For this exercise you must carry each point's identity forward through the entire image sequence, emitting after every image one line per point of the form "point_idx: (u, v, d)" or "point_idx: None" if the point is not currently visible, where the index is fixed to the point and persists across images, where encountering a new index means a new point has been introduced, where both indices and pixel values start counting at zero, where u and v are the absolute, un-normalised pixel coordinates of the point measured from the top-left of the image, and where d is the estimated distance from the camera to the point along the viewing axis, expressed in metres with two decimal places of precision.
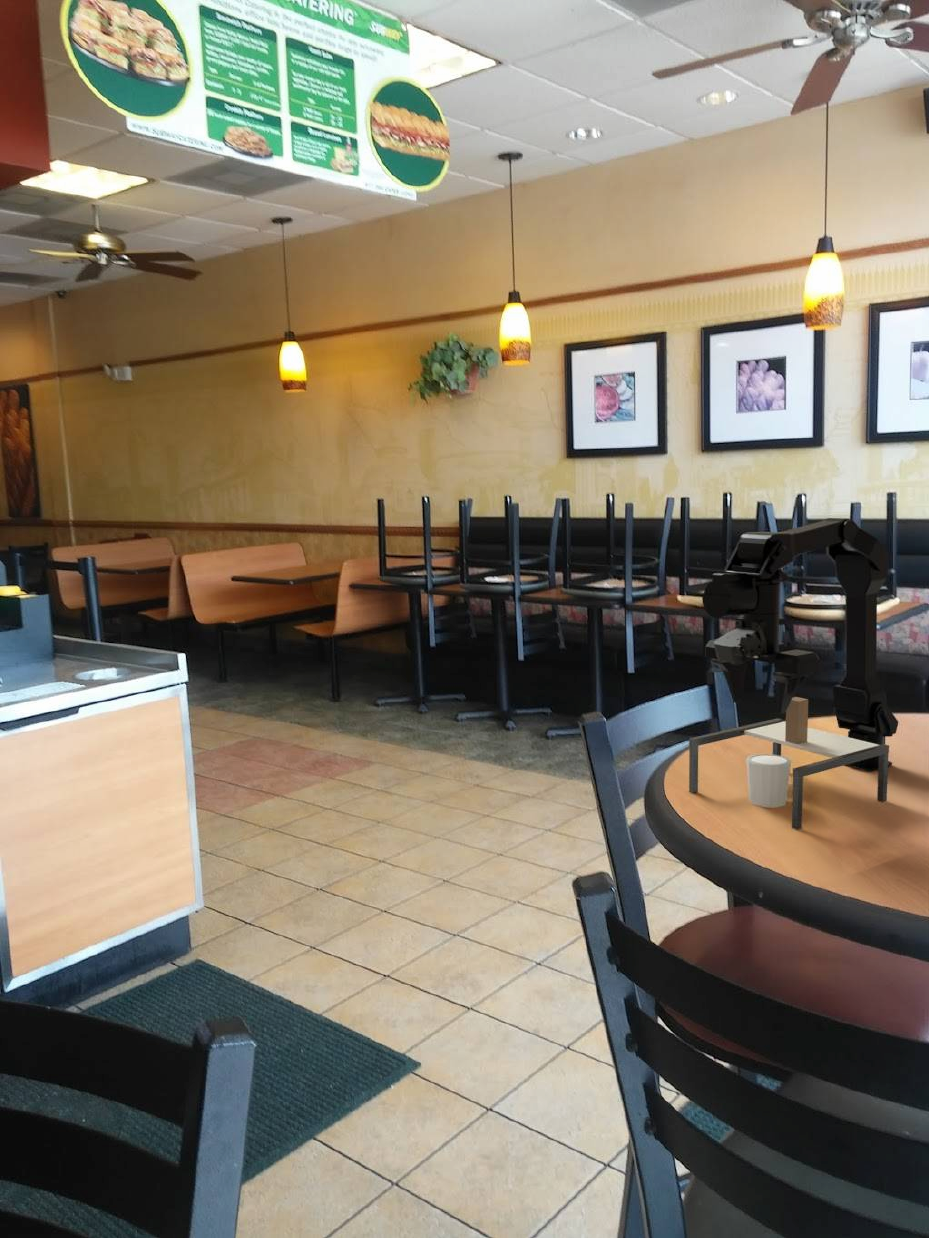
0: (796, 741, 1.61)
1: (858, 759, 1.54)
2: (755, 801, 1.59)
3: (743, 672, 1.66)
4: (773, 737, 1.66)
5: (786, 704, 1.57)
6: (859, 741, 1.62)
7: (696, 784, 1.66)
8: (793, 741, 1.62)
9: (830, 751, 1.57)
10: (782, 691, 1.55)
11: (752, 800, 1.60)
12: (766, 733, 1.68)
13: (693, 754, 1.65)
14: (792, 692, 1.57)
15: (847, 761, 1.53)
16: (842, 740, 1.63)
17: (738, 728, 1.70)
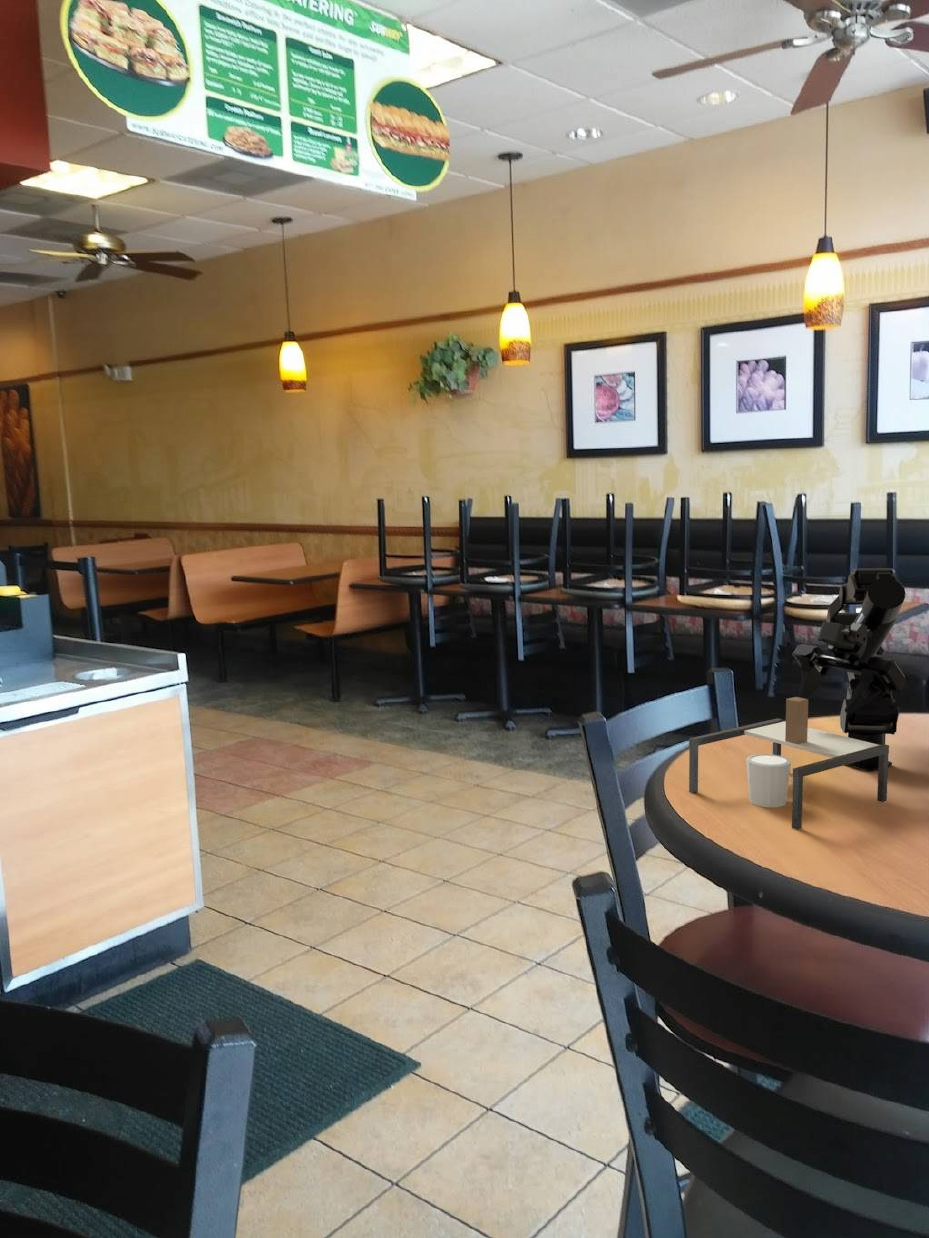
0: (796, 741, 1.61)
1: (858, 759, 1.54)
2: (755, 801, 1.59)
3: (817, 685, 1.72)
4: (773, 737, 1.66)
5: (855, 707, 1.62)
6: (859, 741, 1.62)
7: (696, 784, 1.66)
8: (793, 741, 1.62)
9: (830, 751, 1.57)
10: (860, 690, 1.61)
11: (752, 800, 1.60)
12: (766, 733, 1.68)
13: (693, 754, 1.65)
14: (865, 700, 1.62)
15: (847, 761, 1.53)
16: (842, 740, 1.63)
17: (738, 728, 1.70)
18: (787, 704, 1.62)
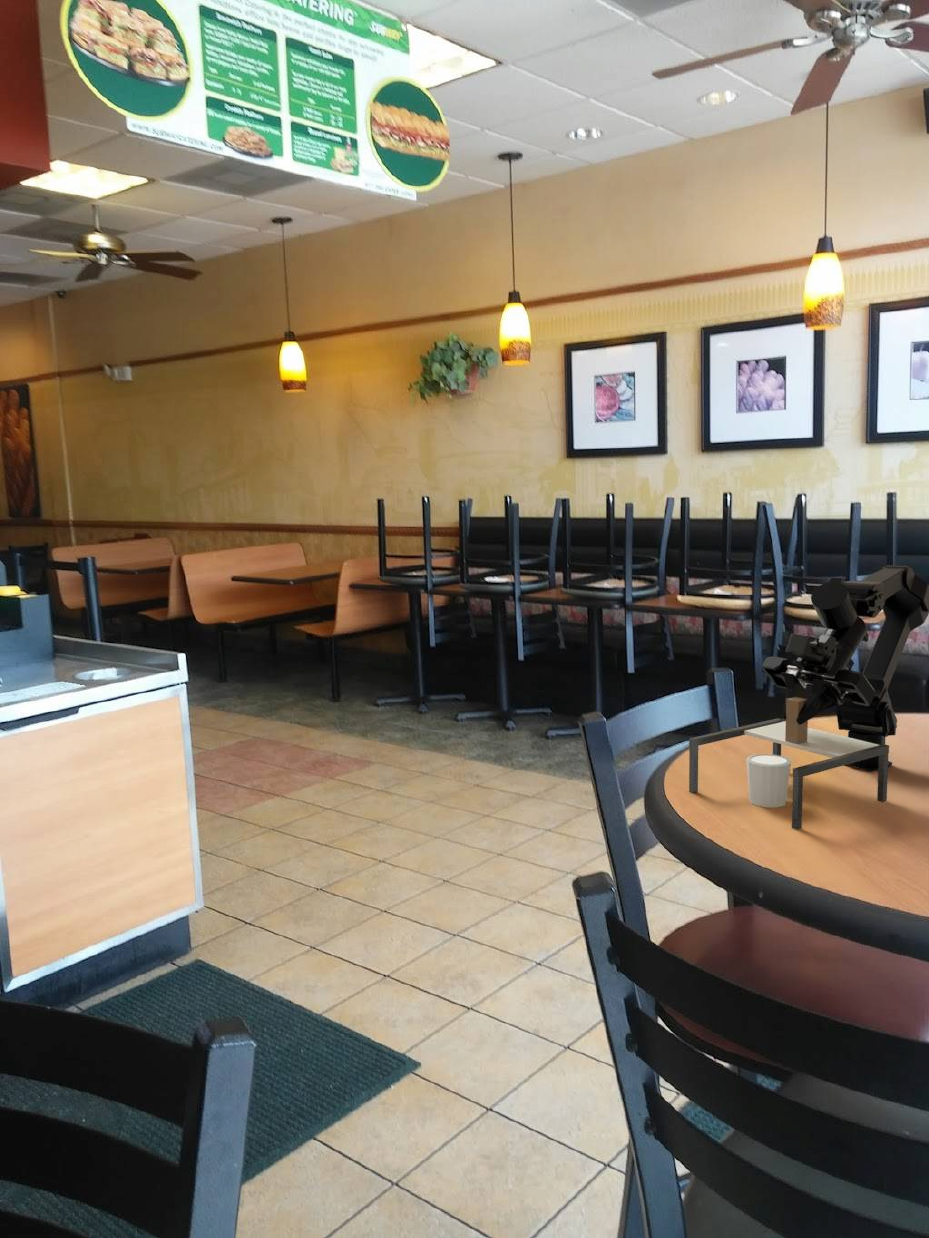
0: (796, 741, 1.61)
1: (858, 759, 1.54)
2: (755, 801, 1.59)
3: None
4: (773, 737, 1.66)
5: (806, 717, 1.61)
6: (859, 741, 1.62)
7: (696, 784, 1.66)
8: (793, 741, 1.62)
9: (830, 751, 1.57)
10: (811, 700, 1.60)
11: (752, 800, 1.60)
12: (766, 733, 1.68)
13: (693, 754, 1.65)
14: (817, 711, 1.61)
15: (847, 761, 1.53)
16: (842, 740, 1.63)
17: (738, 728, 1.70)
18: (787, 704, 1.62)
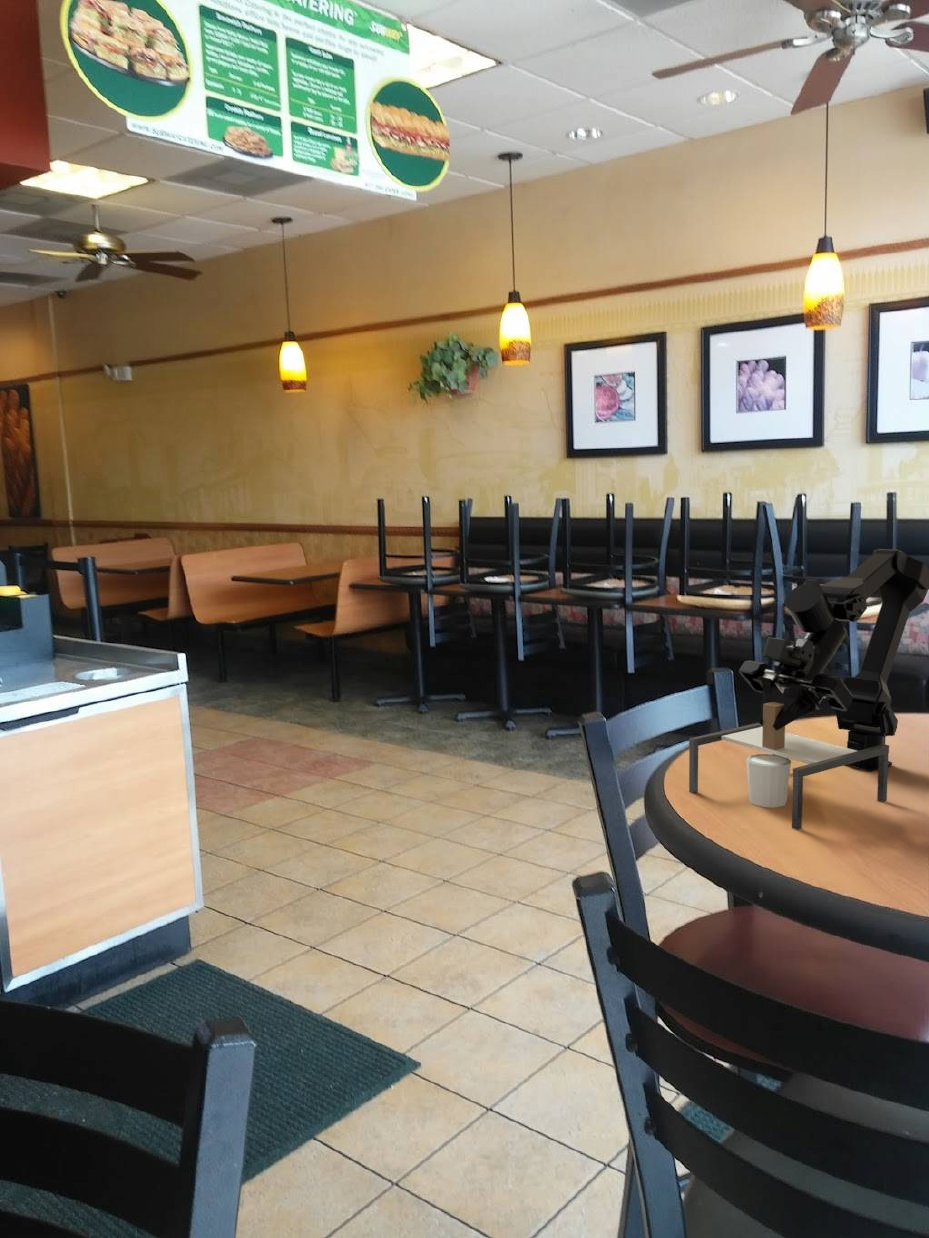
0: (773, 747, 1.59)
1: (858, 759, 1.54)
2: (755, 801, 1.59)
3: None
4: (750, 743, 1.63)
5: (783, 722, 1.58)
6: (837, 747, 1.59)
7: (696, 784, 1.66)
8: (770, 747, 1.59)
9: (807, 757, 1.54)
10: (788, 705, 1.57)
11: (752, 800, 1.60)
12: (743, 738, 1.65)
13: (693, 754, 1.65)
14: (794, 716, 1.58)
15: (847, 761, 1.53)
16: (820, 746, 1.60)
17: (738, 728, 1.70)
18: (764, 709, 1.59)
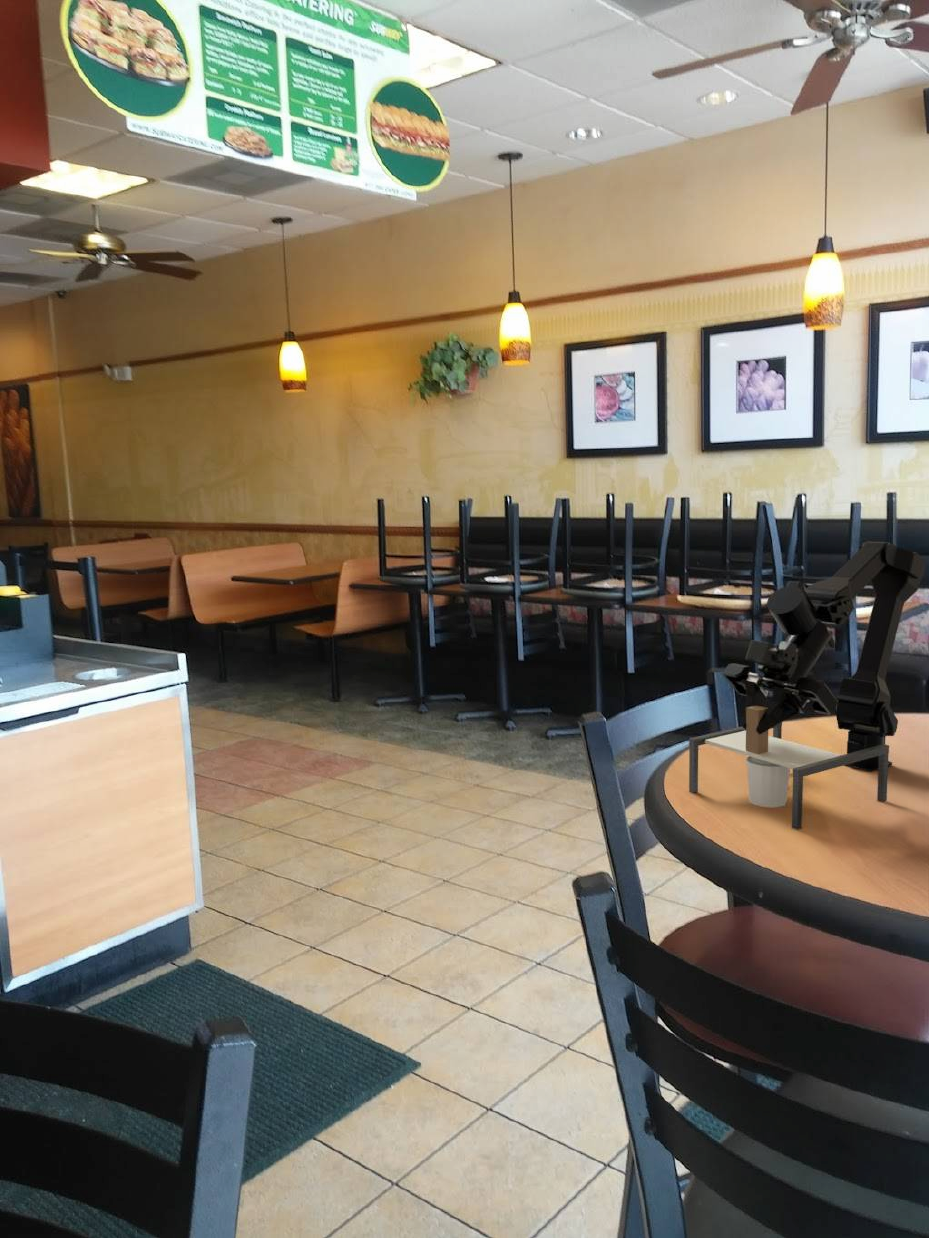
0: (756, 751, 1.56)
1: (858, 759, 1.54)
2: (755, 801, 1.59)
3: None
4: (733, 747, 1.61)
5: (766, 726, 1.56)
6: (821, 751, 1.57)
7: (696, 784, 1.66)
8: (753, 751, 1.57)
9: (790, 762, 1.52)
10: (772, 709, 1.55)
11: (752, 800, 1.60)
12: (727, 742, 1.63)
13: (693, 754, 1.65)
14: (777, 720, 1.56)
15: (847, 761, 1.53)
16: (804, 750, 1.58)
17: (738, 728, 1.70)
18: (747, 713, 1.57)
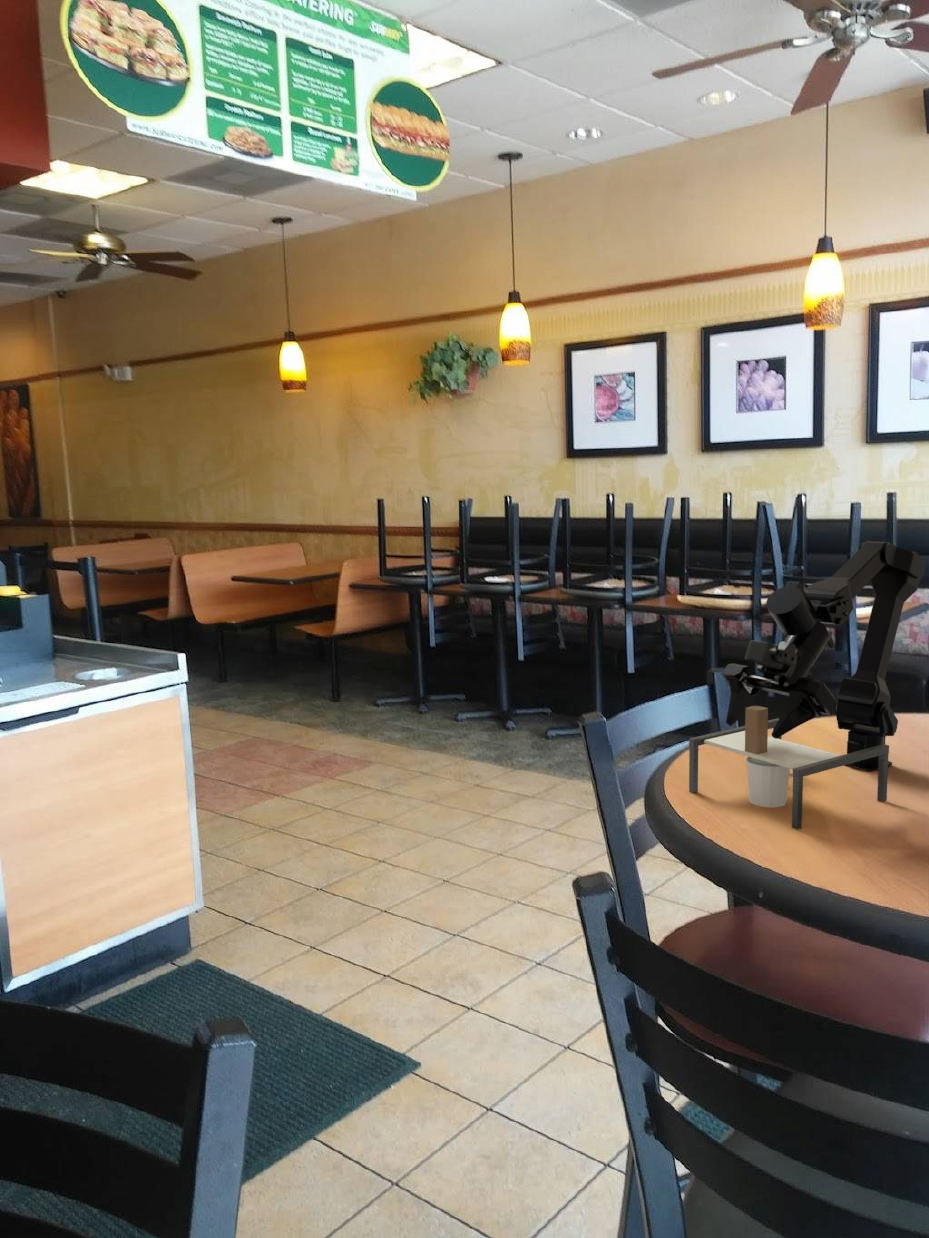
0: (755, 751, 1.56)
1: (858, 759, 1.54)
2: (755, 801, 1.59)
3: (746, 707, 1.63)
4: (733, 747, 1.61)
5: (782, 730, 1.53)
6: (821, 751, 1.57)
7: (696, 784, 1.66)
8: (752, 751, 1.57)
9: (789, 762, 1.52)
10: (788, 713, 1.52)
11: (752, 800, 1.60)
12: (726, 742, 1.63)
13: (693, 754, 1.65)
14: (793, 724, 1.53)
15: (847, 761, 1.53)
16: (803, 750, 1.58)
17: (738, 728, 1.70)
18: (746, 713, 1.57)
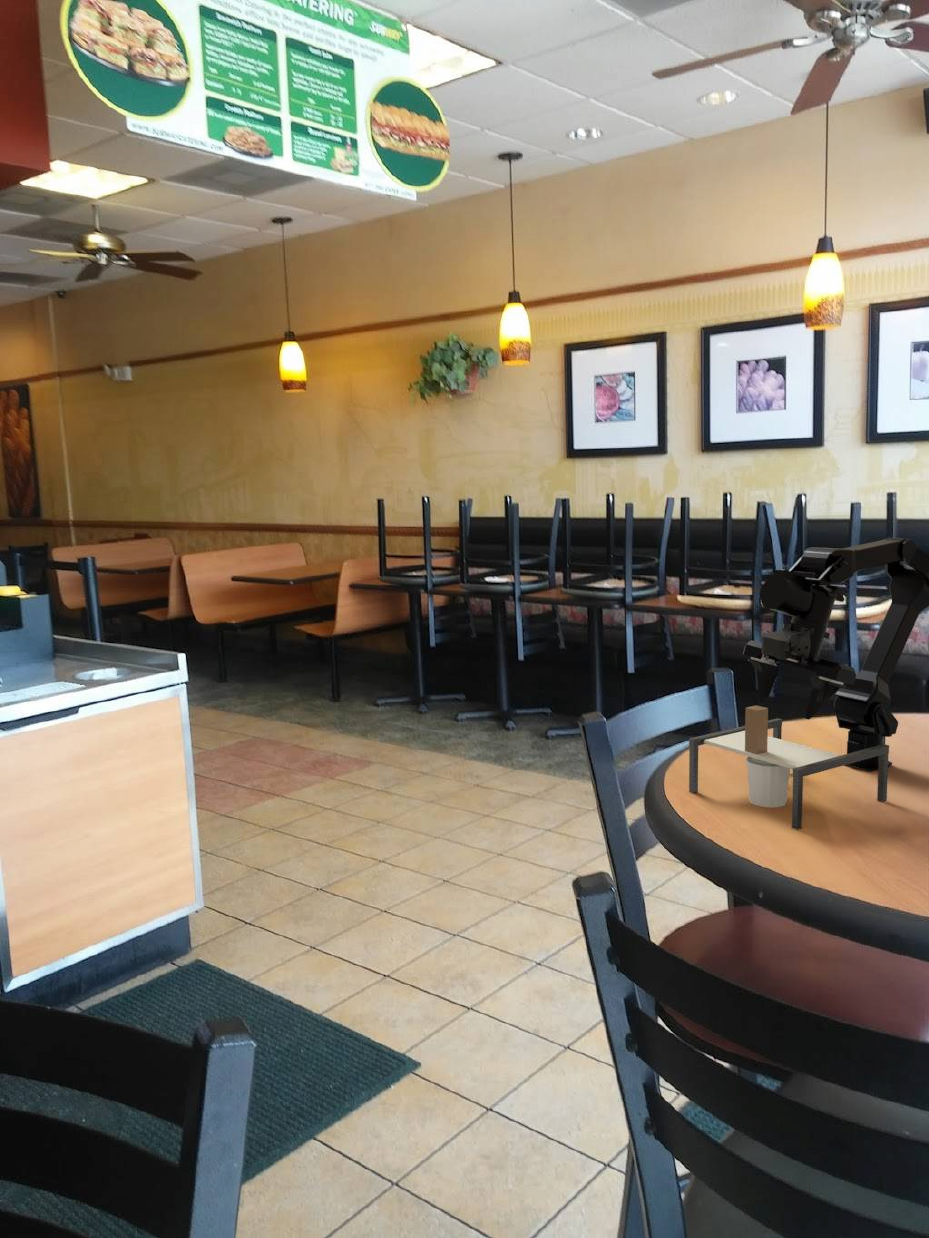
0: (755, 751, 1.56)
1: (858, 759, 1.54)
2: (755, 801, 1.59)
3: (774, 678, 1.73)
4: (733, 747, 1.61)
5: (813, 711, 1.64)
6: (821, 751, 1.57)
7: (696, 784, 1.66)
8: (752, 751, 1.57)
9: (789, 762, 1.52)
10: (814, 696, 1.63)
11: (752, 800, 1.60)
12: (726, 742, 1.63)
13: (693, 754, 1.65)
14: (822, 701, 1.64)
15: (847, 761, 1.53)
16: (803, 750, 1.58)
17: (738, 728, 1.70)
18: (746, 713, 1.57)
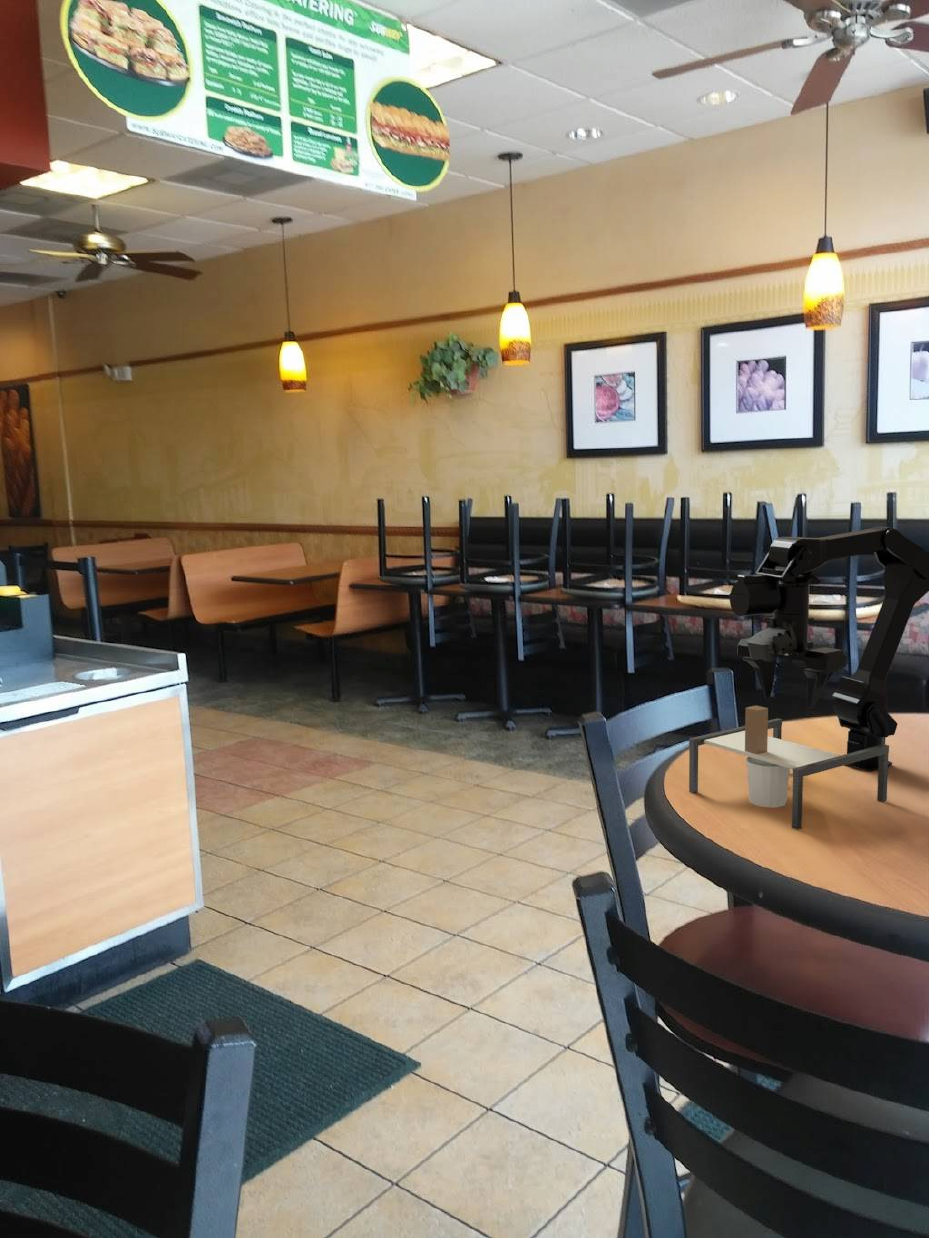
0: (755, 751, 1.56)
1: (858, 759, 1.54)
2: (755, 801, 1.59)
3: (773, 669, 1.76)
4: (733, 747, 1.61)
5: (815, 699, 1.67)
6: (821, 751, 1.57)
7: (696, 784, 1.66)
8: (752, 751, 1.57)
9: (789, 762, 1.52)
10: (812, 686, 1.66)
11: (752, 800, 1.60)
12: (726, 742, 1.63)
13: (693, 754, 1.65)
14: (821, 688, 1.67)
15: (847, 761, 1.53)
16: (803, 750, 1.58)
17: (738, 728, 1.70)
18: (746, 713, 1.57)
